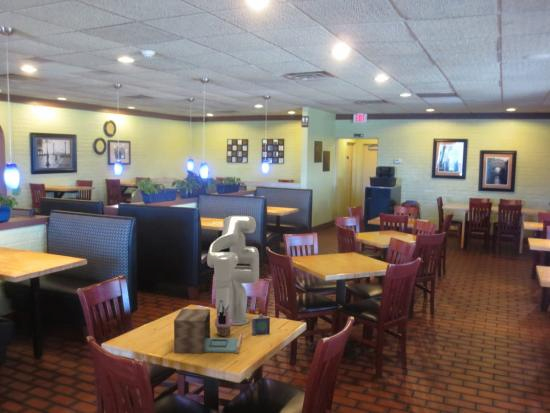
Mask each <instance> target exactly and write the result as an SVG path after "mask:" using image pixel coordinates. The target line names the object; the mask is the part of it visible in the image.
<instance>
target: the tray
mask: <svg viewBox="0 0 550 413" xmlns="http://www.w3.org/2000/svg"><path fill="white" fill-rule="evenodd" d="M242 340H243V333H241V332H239V335H238V337H236V338H235V337H230V338H229V337H210V338H206V339H205V340H204V342H205V353H236V354H239V353H240V350H241V345H242V342H243V341H242Z"/></svg>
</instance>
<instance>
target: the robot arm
mask: <svg viewBox="0 0 550 413" xmlns="http://www.w3.org/2000/svg"><path fill="white" fill-rule="evenodd" d="M222 224H223V228H222V233H221V236H219V237H217V238H216V239H215V240H214V241H213V242H211V243H210V246H209V247H208V248H209V249H208V252H207V256H206V257H207V258H206V263H207V264H206V265H207V266H208V267H210V268H211V269H212V268H214V270H213V272H214V273H213V274H214V275H213V276H214V277H213V278H214V283H213V284H214V286H213V287H214V288H215V310H217V309H218V308H219V316H218V321H219V324H226V315H225V309H226V308H229V317H230V318H231V319H232V322H233V324H232V325H231V326H243V325H246V324H249V322H250V320H249V318H248V317H247V290H246V287H245V286H244V284H253V285H254V284H257V283H258V282H259V281H260V280H259V278H260V253H259V250H258V248H257V247H255V246H246V236H245V234H253V233H254V232H255V231H256V228H257V221H256V219H255V217H253V216H250V215H229V216H227V217H225V218H224V219H223V223H222ZM225 249H229V251H222V250H225ZM239 264H241V265H239ZM223 308H224V309H223ZM223 310H224V312H223Z"/></svg>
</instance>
